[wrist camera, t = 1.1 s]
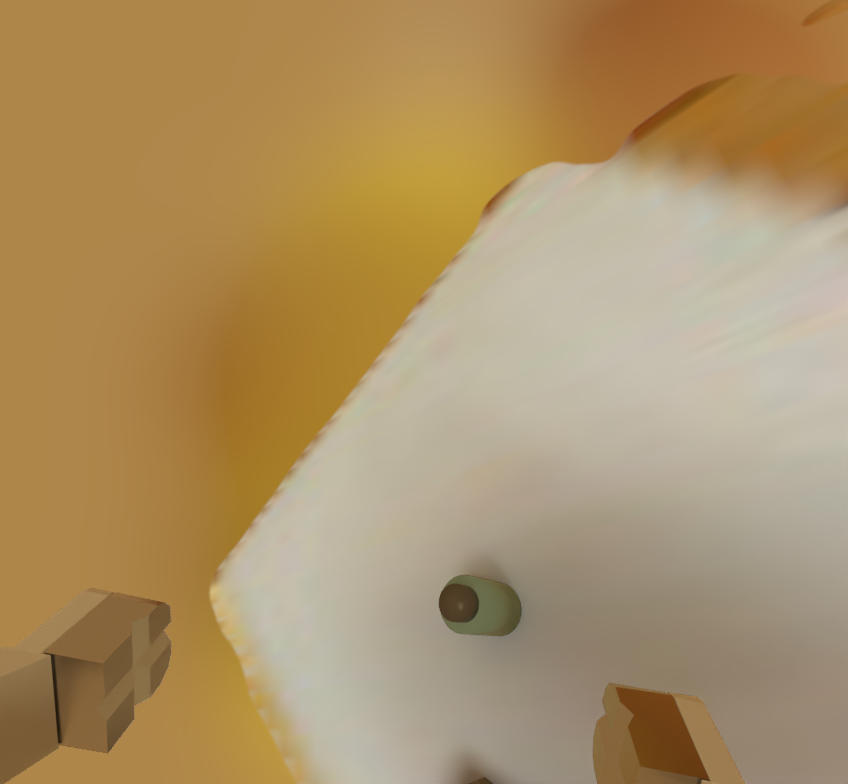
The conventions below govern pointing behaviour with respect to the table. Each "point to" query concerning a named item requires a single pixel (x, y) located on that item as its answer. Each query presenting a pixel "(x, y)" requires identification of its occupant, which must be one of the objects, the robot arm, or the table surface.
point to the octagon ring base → (481, 781)
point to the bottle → (479, 606)
